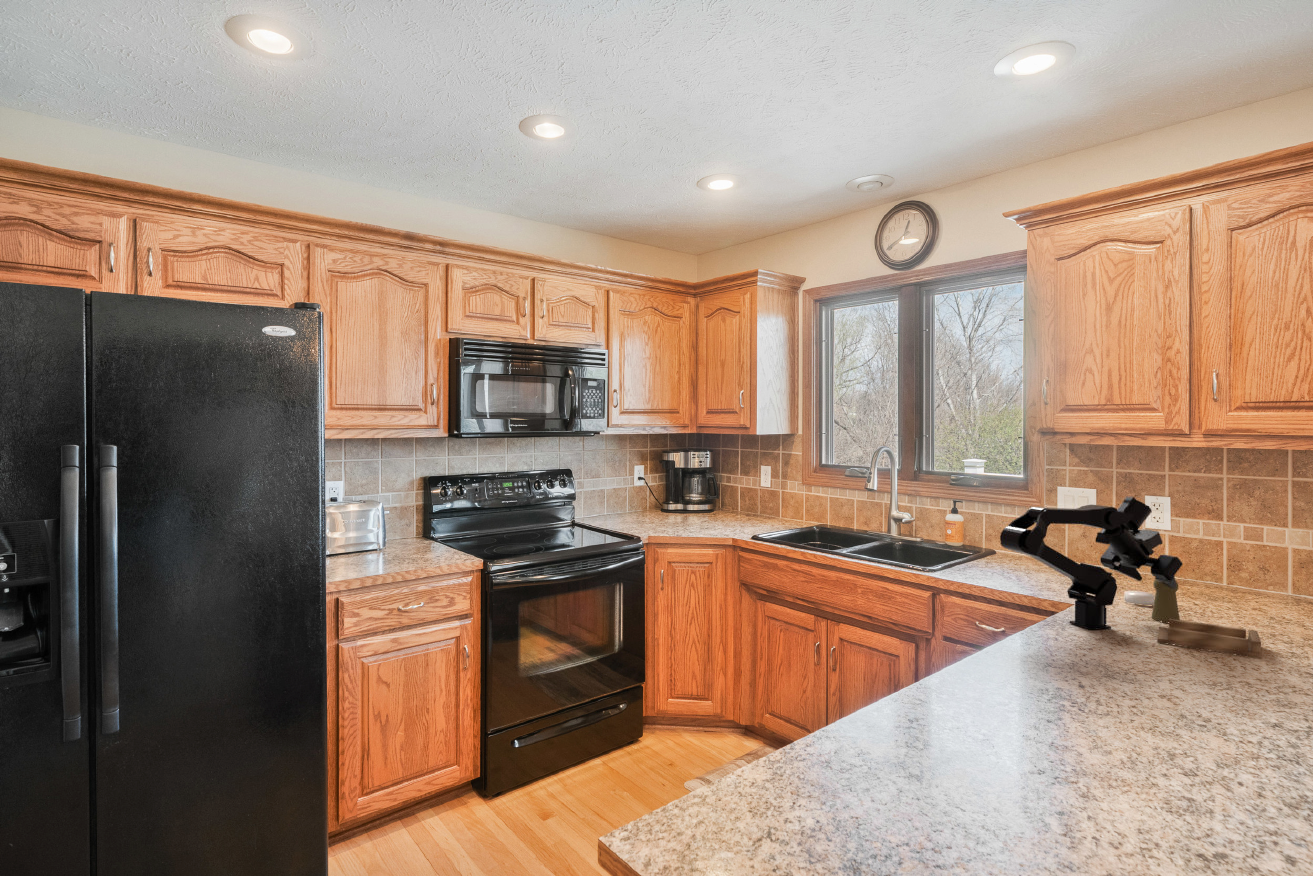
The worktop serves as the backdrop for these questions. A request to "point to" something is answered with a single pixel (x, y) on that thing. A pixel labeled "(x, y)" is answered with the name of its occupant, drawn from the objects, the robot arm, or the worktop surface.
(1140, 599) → the white rounded cylinder
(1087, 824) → the worktop surface
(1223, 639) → the rack
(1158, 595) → the cork
